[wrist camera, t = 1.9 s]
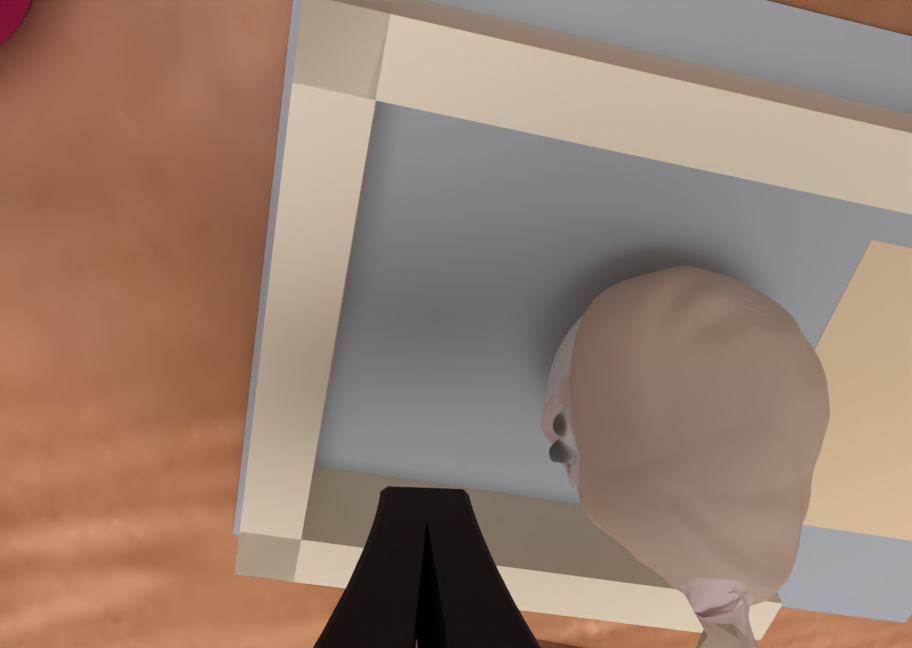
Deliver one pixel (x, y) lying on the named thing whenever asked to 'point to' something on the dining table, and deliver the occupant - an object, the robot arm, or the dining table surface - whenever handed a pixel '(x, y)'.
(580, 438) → the garlic bulb
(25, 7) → the pepper mill
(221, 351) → the dining table surface
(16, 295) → the dining table surface
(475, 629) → the robot arm
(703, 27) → the cubby board
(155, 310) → the dining table surface
